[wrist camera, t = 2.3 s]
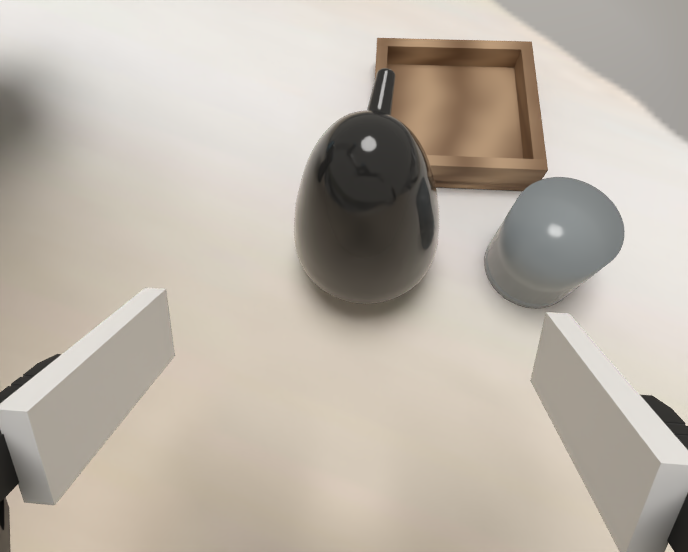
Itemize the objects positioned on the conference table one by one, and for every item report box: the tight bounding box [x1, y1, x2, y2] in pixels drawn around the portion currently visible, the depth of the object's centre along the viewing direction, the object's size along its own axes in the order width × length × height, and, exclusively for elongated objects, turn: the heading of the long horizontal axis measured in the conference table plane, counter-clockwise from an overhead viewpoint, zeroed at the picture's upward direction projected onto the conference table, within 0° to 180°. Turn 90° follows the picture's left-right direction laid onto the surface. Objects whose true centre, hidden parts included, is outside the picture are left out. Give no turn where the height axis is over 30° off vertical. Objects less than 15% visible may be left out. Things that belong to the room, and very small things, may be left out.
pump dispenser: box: [294, 68, 439, 304], centre depth 29 cm, size 10×10×15 cm
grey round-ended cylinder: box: [484, 177, 624, 308], centre depth 32 cm, size 7×7×7 cm
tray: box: [375, 38, 548, 191], centre depth 39 cm, size 14×14×3 cm
